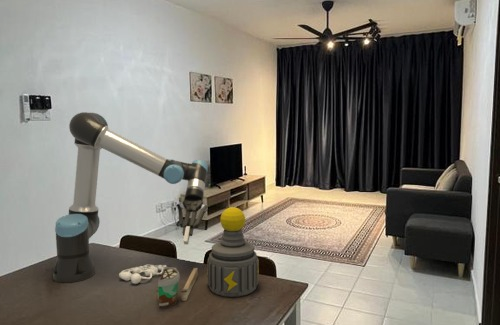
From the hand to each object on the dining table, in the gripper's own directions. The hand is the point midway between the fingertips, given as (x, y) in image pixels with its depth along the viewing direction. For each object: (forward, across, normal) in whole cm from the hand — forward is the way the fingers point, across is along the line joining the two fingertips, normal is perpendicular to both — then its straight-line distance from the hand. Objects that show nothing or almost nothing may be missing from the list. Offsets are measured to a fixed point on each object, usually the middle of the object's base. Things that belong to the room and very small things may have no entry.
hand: (185, 242), depth 149 cm
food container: (+24, 0, +3) cm, 24 cm away
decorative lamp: (+15, -19, -6) cm, 25 cm away
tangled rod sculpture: (+9, +18, -12) cm, 24 cm away
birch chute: (+16, +1, -5) cm, 16 cm away
